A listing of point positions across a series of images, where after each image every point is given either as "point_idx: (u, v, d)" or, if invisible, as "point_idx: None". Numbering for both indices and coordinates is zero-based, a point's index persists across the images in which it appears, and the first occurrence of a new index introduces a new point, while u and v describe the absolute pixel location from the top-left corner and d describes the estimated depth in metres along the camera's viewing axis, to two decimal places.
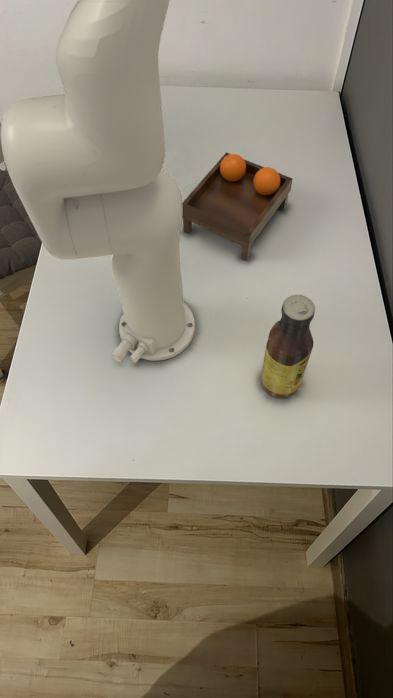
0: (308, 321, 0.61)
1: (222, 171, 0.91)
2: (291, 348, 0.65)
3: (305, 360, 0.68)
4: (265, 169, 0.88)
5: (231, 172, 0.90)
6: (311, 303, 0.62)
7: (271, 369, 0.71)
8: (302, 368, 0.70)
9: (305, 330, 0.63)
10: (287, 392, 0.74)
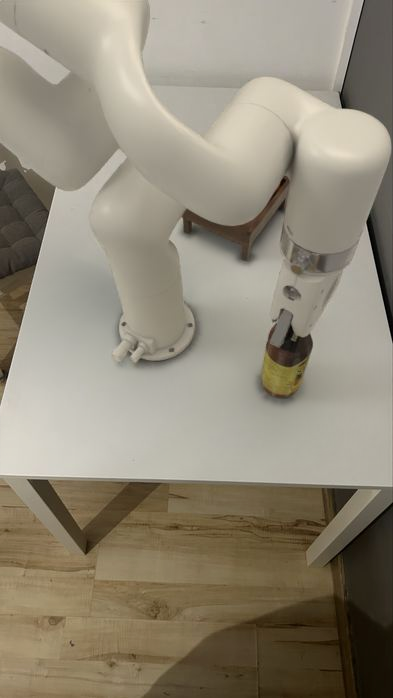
0: None
1: None
2: None
3: (304, 361, 0.68)
4: None
5: None
6: None
7: (270, 370, 0.71)
8: (302, 369, 0.69)
9: None
10: (287, 392, 0.74)
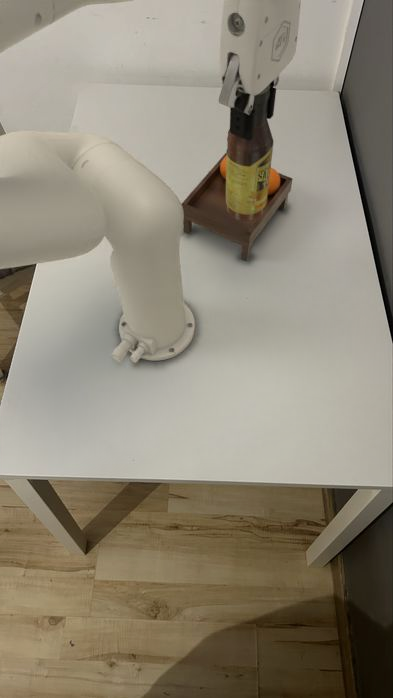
0: (262, 99, 0.59)
1: (222, 171, 0.91)
2: (247, 140, 0.64)
3: (264, 161, 0.66)
4: None
5: None
6: None
7: (231, 178, 0.69)
8: (262, 174, 0.68)
9: (261, 115, 0.62)
10: (250, 211, 0.73)
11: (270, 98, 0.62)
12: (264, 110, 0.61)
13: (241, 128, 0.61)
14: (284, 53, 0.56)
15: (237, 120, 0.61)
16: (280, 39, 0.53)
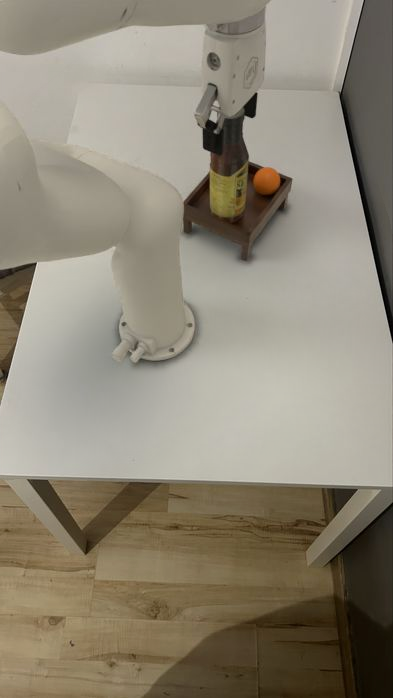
0: (238, 121, 0.72)
1: None
2: (227, 155, 0.76)
3: (242, 172, 0.79)
4: (265, 169, 0.88)
5: None
6: None
7: (214, 186, 0.82)
8: (240, 183, 0.81)
9: (238, 135, 0.74)
10: (231, 214, 0.86)
11: (253, 101, 0.74)
12: (240, 130, 0.74)
13: (212, 145, 0.71)
14: (254, 81, 0.68)
15: (208, 138, 0.71)
16: (250, 71, 0.65)
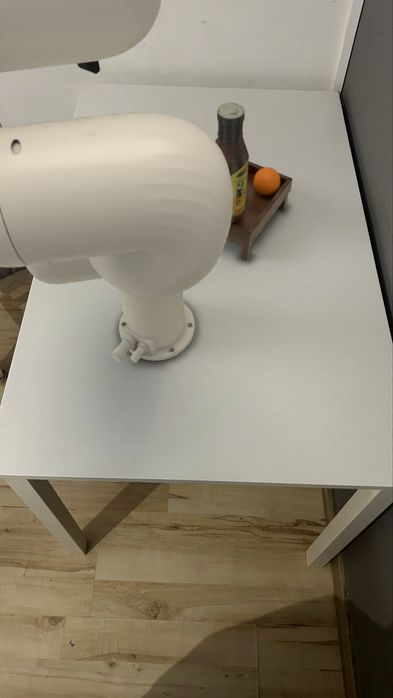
0: (238, 121, 0.72)
1: None
2: (227, 155, 0.76)
3: (242, 172, 0.79)
4: (265, 169, 0.88)
5: None
6: (241, 107, 0.73)
7: None
8: (240, 183, 0.81)
9: (238, 135, 0.74)
10: None
11: None
12: (240, 130, 0.74)
13: None
14: None
15: None
16: None
